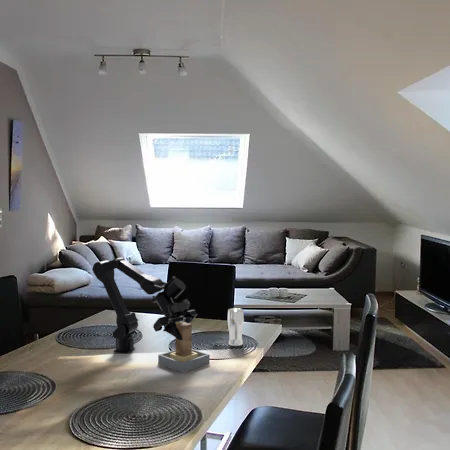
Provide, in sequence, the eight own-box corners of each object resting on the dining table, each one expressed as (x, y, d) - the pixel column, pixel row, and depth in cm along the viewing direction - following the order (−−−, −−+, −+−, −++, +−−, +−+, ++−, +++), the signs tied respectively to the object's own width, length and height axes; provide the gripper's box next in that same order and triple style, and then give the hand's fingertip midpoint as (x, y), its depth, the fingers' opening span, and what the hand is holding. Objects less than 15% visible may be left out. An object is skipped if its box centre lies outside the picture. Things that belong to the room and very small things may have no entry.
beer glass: (242, 347, 231) (242, 312, 230) (226, 346, 232) (226, 311, 231) (244, 342, 238) (245, 308, 236) (229, 341, 239) (229, 307, 238)
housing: (158, 363, 211) (158, 353, 211) (185, 354, 221) (185, 345, 221) (182, 372, 201) (182, 362, 201) (209, 363, 211) (209, 353, 211)
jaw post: (175, 354, 211) (175, 324, 210) (184, 351, 214) (184, 321, 213) (183, 357, 208) (183, 326, 207) (191, 354, 211) (191, 324, 210)
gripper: (157, 297, 205) (177, 332, 198) (194, 289, 218) (213, 322, 211) (144, 314, 211) (163, 348, 204) (181, 305, 224) (199, 337, 218)
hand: (185, 338), depth 209 cm, fingers closed on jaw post, 4 cm apart
